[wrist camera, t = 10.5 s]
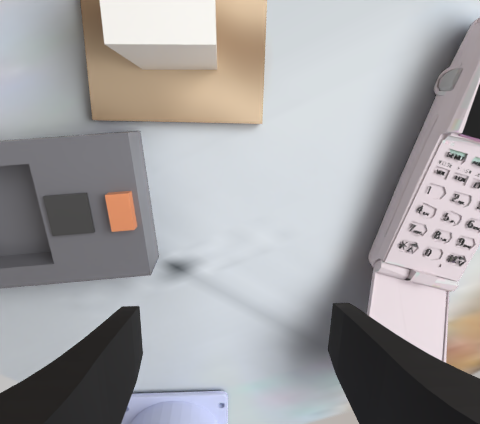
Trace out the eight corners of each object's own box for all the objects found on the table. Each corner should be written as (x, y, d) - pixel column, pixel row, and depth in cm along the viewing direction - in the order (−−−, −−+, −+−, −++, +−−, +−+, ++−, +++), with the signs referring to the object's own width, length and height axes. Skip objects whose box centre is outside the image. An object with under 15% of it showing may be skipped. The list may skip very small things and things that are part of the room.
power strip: (141, 130, 19) (124, 133, 16) (160, 254, 21) (148, 280, 18) (-138, 150, 18) (-220, 157, 15) (-89, 275, 21) (-151, 306, 17)
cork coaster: (260, 123, 19) (262, 123, 18) (96, 120, 18) (92, 120, 18) (268, -70, 16) (269, -76, 16) (76, -81, 16) (71, -88, 15)
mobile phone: (350, 417, 18) (598, -90, 12) (318, 346, 24) (475, -24, 18) (440, 433, 19) (715, -31, 13) (389, 361, 25) (563, 14, 19)
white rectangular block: (217, 69, 17) (215, 44, 12) (142, 69, 17) (104, 44, 12) (214, -16, 16) (212, -89, 11) (135, -17, 16) (88, -92, 10)
